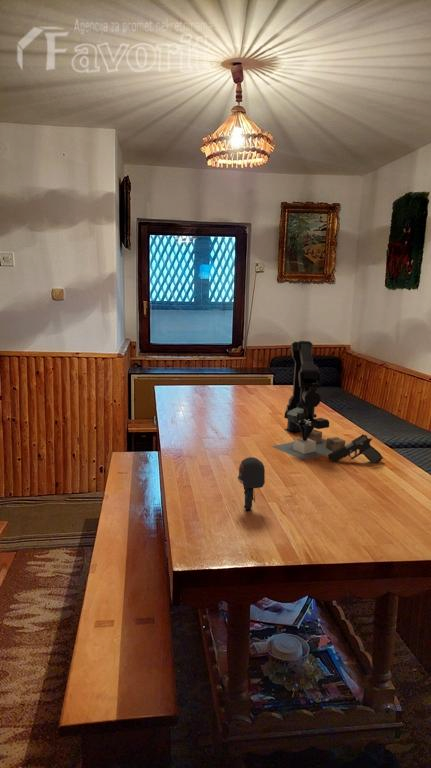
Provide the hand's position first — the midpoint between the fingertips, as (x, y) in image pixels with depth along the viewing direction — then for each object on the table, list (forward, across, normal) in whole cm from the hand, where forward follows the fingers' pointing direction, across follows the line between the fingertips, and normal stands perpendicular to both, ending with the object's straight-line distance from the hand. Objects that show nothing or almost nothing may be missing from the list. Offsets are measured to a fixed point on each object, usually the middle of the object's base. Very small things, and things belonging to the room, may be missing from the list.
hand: (304, 440), depth 191 cm
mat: (+4, -1, +5) cm, 7 cm away
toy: (+5, +29, -50) cm, 58 cm away
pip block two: (+4, +5, +12) cm, 14 cm away
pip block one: (+4, -7, +12) cm, 14 cm away
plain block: (+4, 0, 0) cm, 4 cm away
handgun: (+5, +19, +7) cm, 21 cm away
